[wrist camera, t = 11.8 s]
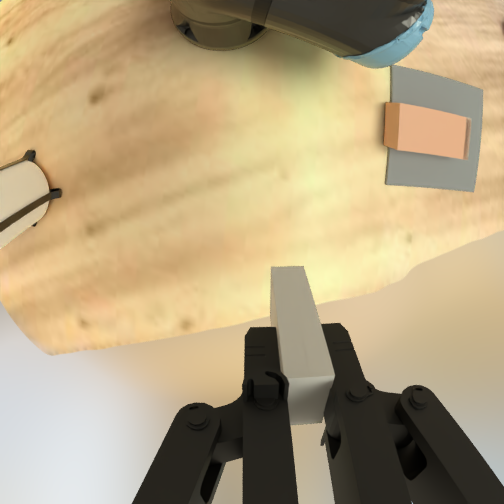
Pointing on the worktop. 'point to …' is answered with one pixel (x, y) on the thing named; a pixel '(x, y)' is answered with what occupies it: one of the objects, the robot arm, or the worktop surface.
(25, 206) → the coffee press
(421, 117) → the tall block
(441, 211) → the worktop surface
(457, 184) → the mat
